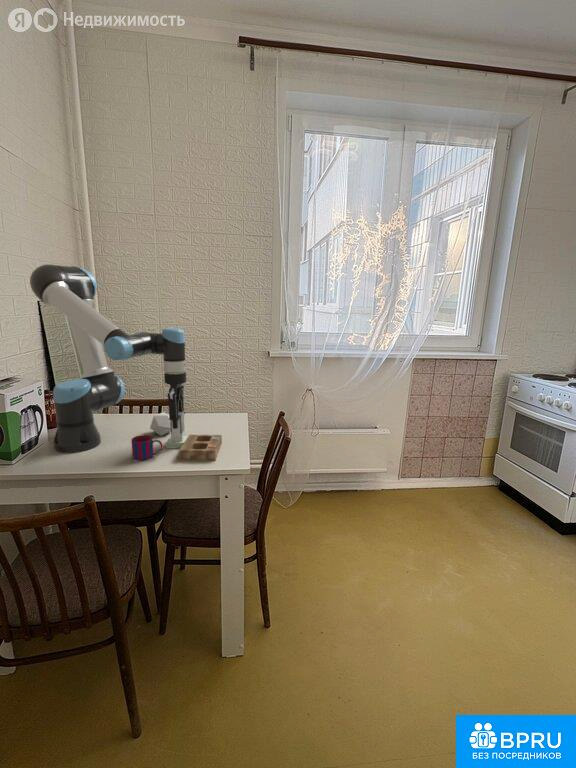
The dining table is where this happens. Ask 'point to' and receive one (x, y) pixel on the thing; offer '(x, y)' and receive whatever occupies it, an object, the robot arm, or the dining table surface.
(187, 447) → the socket block
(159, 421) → the die
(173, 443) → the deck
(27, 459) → the dining table surface
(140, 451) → the mug
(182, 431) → the plug
